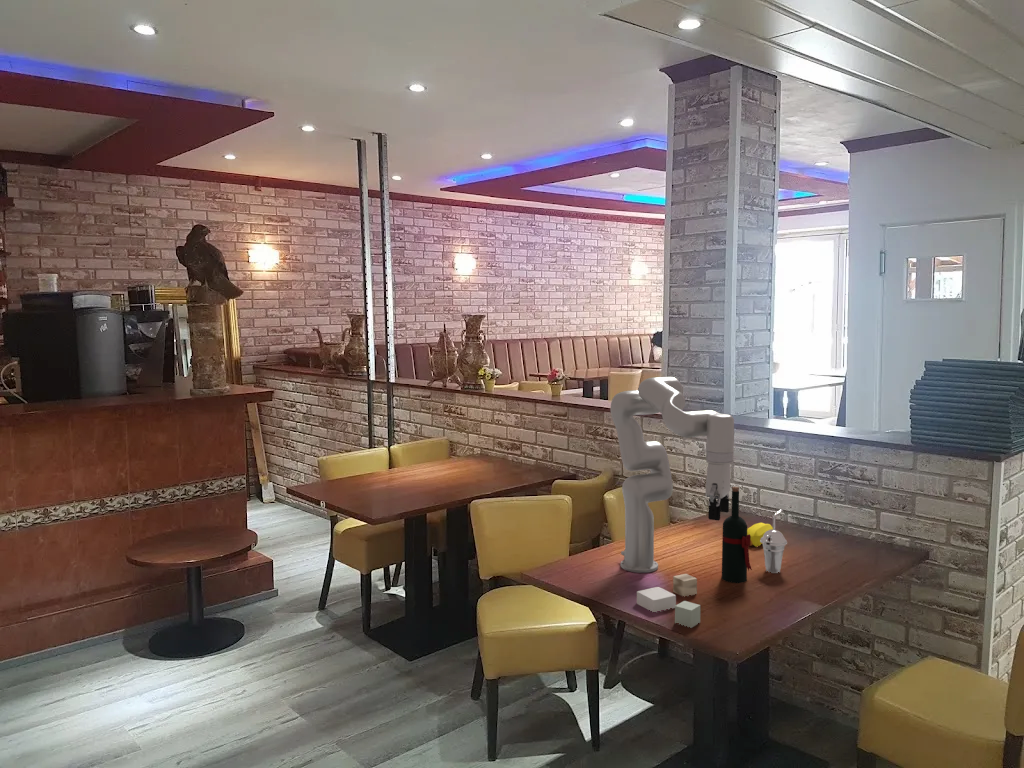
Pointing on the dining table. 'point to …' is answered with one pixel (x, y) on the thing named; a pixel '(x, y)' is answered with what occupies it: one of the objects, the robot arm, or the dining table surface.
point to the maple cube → (685, 585)
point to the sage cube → (687, 614)
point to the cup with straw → (773, 548)
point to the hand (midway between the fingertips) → (718, 515)
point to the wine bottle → (735, 545)
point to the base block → (656, 599)
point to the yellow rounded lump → (758, 532)
